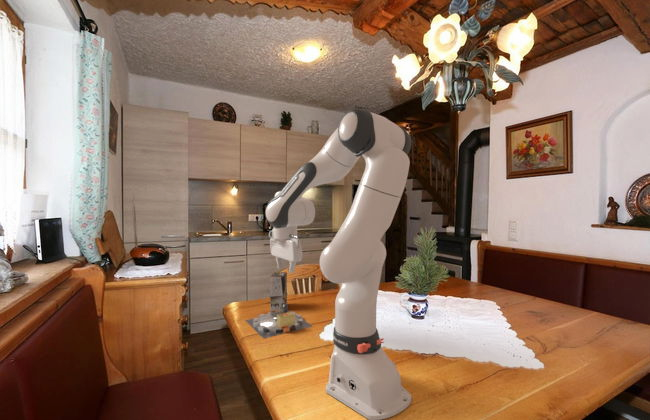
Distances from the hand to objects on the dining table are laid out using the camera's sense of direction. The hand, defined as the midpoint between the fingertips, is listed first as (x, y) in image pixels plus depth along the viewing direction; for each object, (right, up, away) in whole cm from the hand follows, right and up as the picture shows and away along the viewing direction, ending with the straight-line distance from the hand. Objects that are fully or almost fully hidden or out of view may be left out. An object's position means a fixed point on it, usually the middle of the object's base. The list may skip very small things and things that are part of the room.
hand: (285, 270), depth 112 cm
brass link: (0, -21, 0) cm, 21 cm away
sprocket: (-4, -22, +6) cm, 23 cm away
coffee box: (-6, -23, +25) cm, 34 cm away
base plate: (-4, -23, +6) cm, 24 cm away
